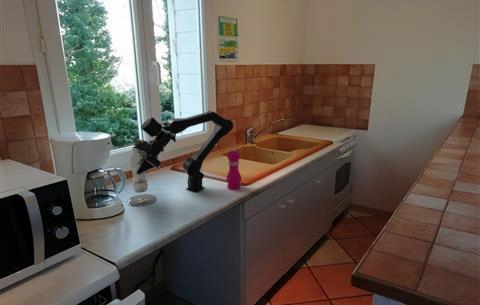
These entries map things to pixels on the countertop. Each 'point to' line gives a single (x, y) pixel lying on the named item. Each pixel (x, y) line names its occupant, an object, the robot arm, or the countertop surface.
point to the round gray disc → (142, 200)
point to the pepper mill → (233, 170)
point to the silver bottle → (136, 161)
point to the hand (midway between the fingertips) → (135, 171)
